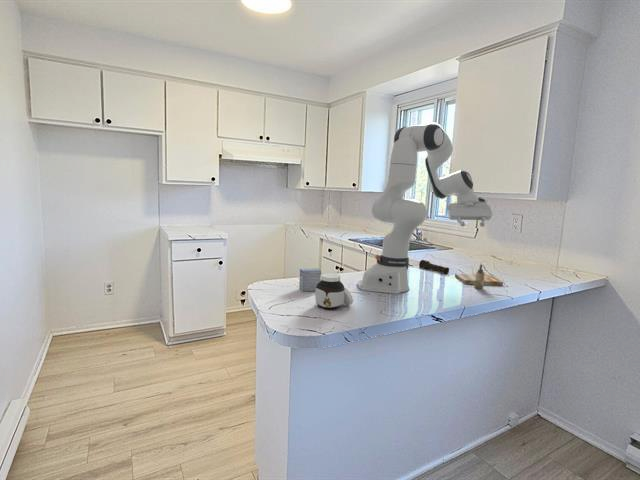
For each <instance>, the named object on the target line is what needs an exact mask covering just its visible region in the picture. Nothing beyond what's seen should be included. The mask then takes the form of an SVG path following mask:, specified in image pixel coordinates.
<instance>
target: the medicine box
mask: <svg viewBox="0 0 640 480" xmlns="http://www.w3.org/2000/svg"><path fill="white" fill-rule="evenodd" d="M321 275H322V271H321V270H320V269H319V268H317V267H315V268H314V267H313V268H300V269H299V286H298V287H299V290H300V291H301V292H314V291H315V292H316V286H317V284H318V283H319V282H320V281H321Z"/></svg>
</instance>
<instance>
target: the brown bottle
mask: <svg viewBox="0 0 640 480" xmlns="http://www.w3.org/2000/svg"><path fill="white" fill-rule="evenodd" d="M475 274H476V276H475V284H473V285H474V286H473V288H474V289H476V290H483V289H484V285H483V283H484V274H486V273H485V272H484V269H483V264H482V263H481V264H479V268H478V269H477V271H475Z"/></svg>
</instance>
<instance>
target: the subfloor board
mask: <svg viewBox="0 0 640 480" xmlns="http://www.w3.org/2000/svg"><path fill="white" fill-rule="evenodd" d="M475 276H476V273H475V274H474V273H473V274H472V273H455V274H454V278H456V279H457V280H458V281H460V282H461V283H462V284H464V285H475ZM483 286H501V287H502V286H504V281H503V280H501V279H499V278H497V277H495V276H493V275H491V274H486V273H485V274H484V283H483Z"/></svg>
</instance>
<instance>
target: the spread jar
mask: <svg viewBox="0 0 640 480" xmlns="http://www.w3.org/2000/svg"><path fill="white" fill-rule="evenodd" d="M314 295H315V297H314V298H315V303H316V304H317V306H318V307H319V308H320V309H322V310H326V311H336V310H338V309H340V308H341V307H342V306H343V305H345V306H351V305H352V304H353V302H354V300H353V299H354V298H353V295H352V293H351V292H350V291H349V289H348V288H346V287H345V285H344V284H343V282H342V281H341V275H340V274H337V273H330V272H329V273H328V272H326V273H321V281H320V282H319V283H318V284H317V286H316V291H315V294H314Z"/></svg>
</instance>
